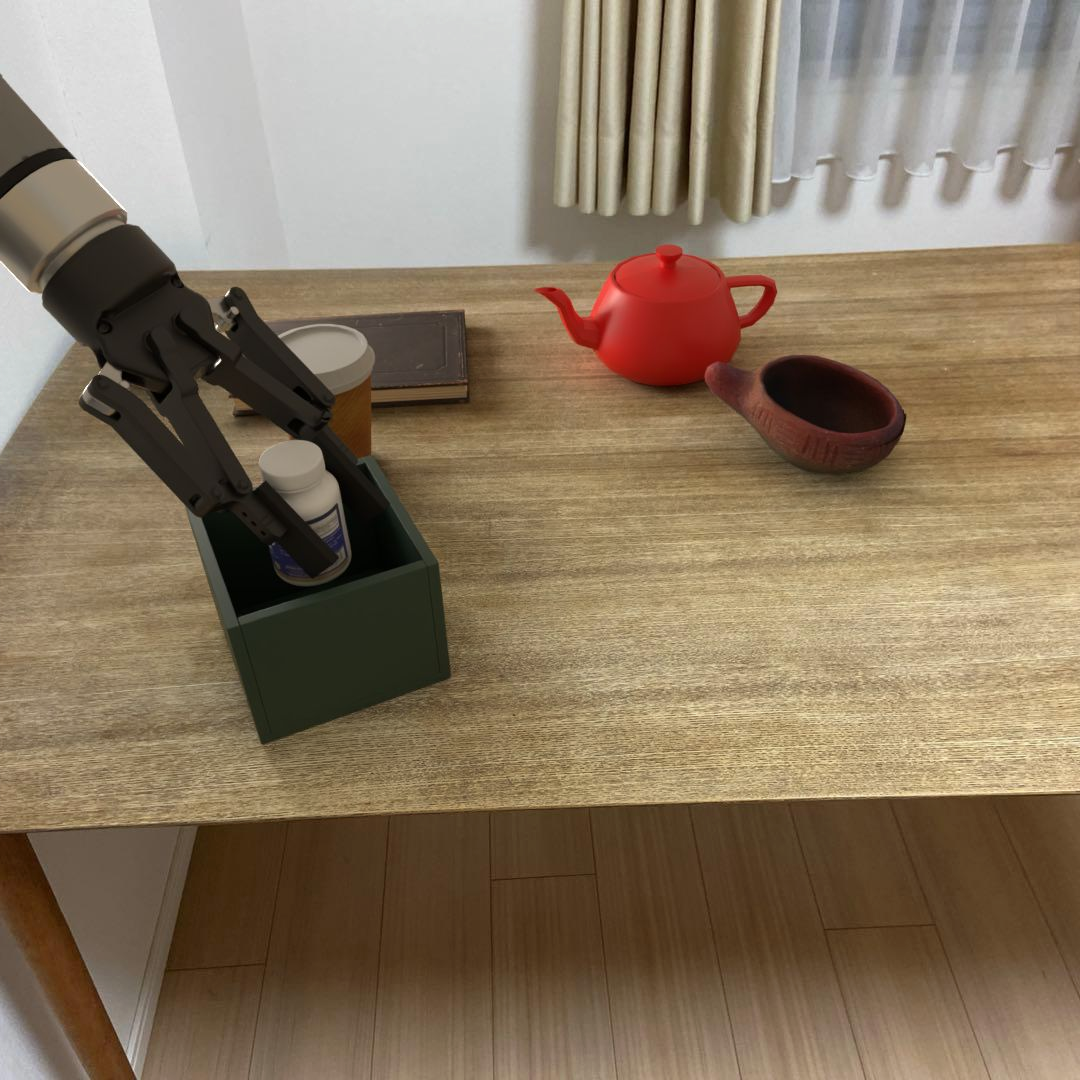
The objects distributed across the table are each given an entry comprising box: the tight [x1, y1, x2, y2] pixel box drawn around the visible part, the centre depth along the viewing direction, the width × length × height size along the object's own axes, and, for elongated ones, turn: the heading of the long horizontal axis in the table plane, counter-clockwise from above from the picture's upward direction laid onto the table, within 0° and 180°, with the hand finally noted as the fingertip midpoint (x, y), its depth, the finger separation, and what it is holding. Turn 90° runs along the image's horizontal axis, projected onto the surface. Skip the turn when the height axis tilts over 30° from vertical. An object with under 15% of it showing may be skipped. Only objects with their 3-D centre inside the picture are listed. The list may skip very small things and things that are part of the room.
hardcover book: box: [227, 308, 470, 416], centre depth 105 cm, size 16×23×2 cm
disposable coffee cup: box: [278, 324, 375, 459], centre depth 89 cm, size 10×10×12 cm
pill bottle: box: [258, 439, 351, 586], centre depth 67 cm, size 5×5×9 cm
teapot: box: [533, 243, 778, 387], centre depth 102 cm, size 25×16×12 cm, turn 101°
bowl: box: [704, 354, 907, 476], centre depth 89 cm, size 16×13×8 cm
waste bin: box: [184, 454, 452, 745], centre depth 71 cm, size 14×14×11 cm
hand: (351, 539), depth 66 cm, fingers closed on pill bottle, 5 cm apart
